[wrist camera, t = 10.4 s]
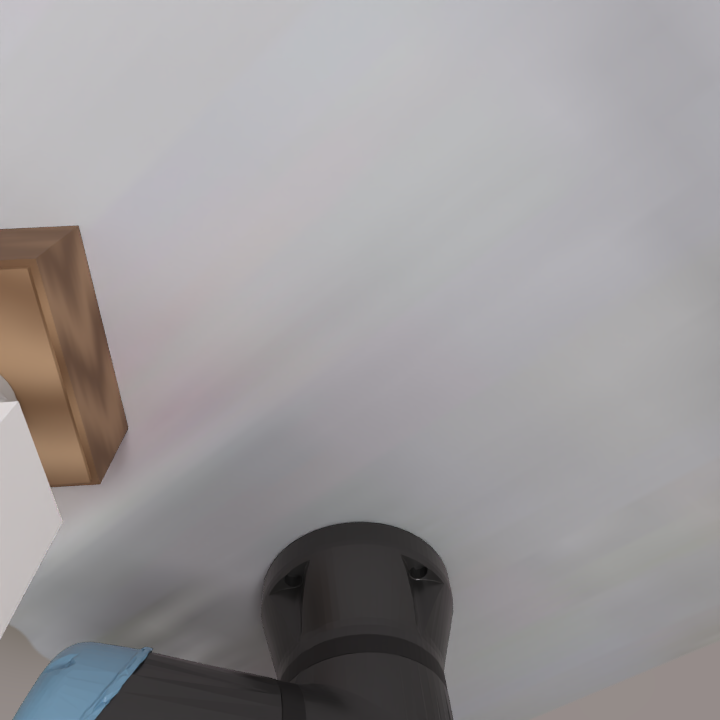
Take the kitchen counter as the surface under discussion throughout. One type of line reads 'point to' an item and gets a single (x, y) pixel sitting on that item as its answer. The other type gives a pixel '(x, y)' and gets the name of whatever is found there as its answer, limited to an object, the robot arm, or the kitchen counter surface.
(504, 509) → the kitchen counter surface
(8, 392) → the mug
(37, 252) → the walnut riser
